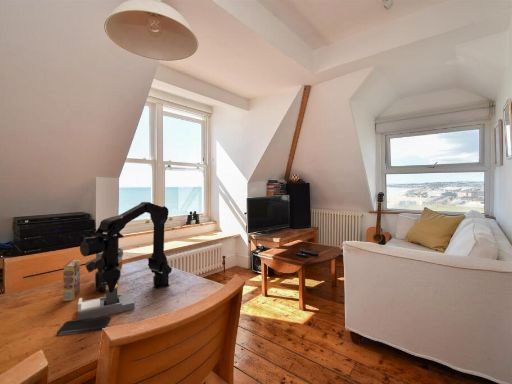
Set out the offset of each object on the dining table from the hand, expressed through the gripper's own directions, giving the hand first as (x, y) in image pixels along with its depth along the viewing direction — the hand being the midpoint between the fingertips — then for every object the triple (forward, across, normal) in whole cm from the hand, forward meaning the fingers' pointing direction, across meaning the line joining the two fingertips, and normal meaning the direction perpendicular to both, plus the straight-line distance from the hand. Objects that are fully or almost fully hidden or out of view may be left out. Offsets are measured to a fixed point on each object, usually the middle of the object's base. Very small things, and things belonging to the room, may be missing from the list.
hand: (110, 288), depth 104 cm
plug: (+8, 0, 0) cm, 8 cm away
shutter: (+6, 0, -7) cm, 9 cm away
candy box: (+8, -20, -15) cm, 26 cm away
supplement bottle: (+8, -21, -3) cm, 23 cm away
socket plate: (+8, 0, -1) cm, 8 cm away
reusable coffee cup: (+8, -35, 0) cm, 36 cm away
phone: (+9, +10, -8) cm, 16 cm away
